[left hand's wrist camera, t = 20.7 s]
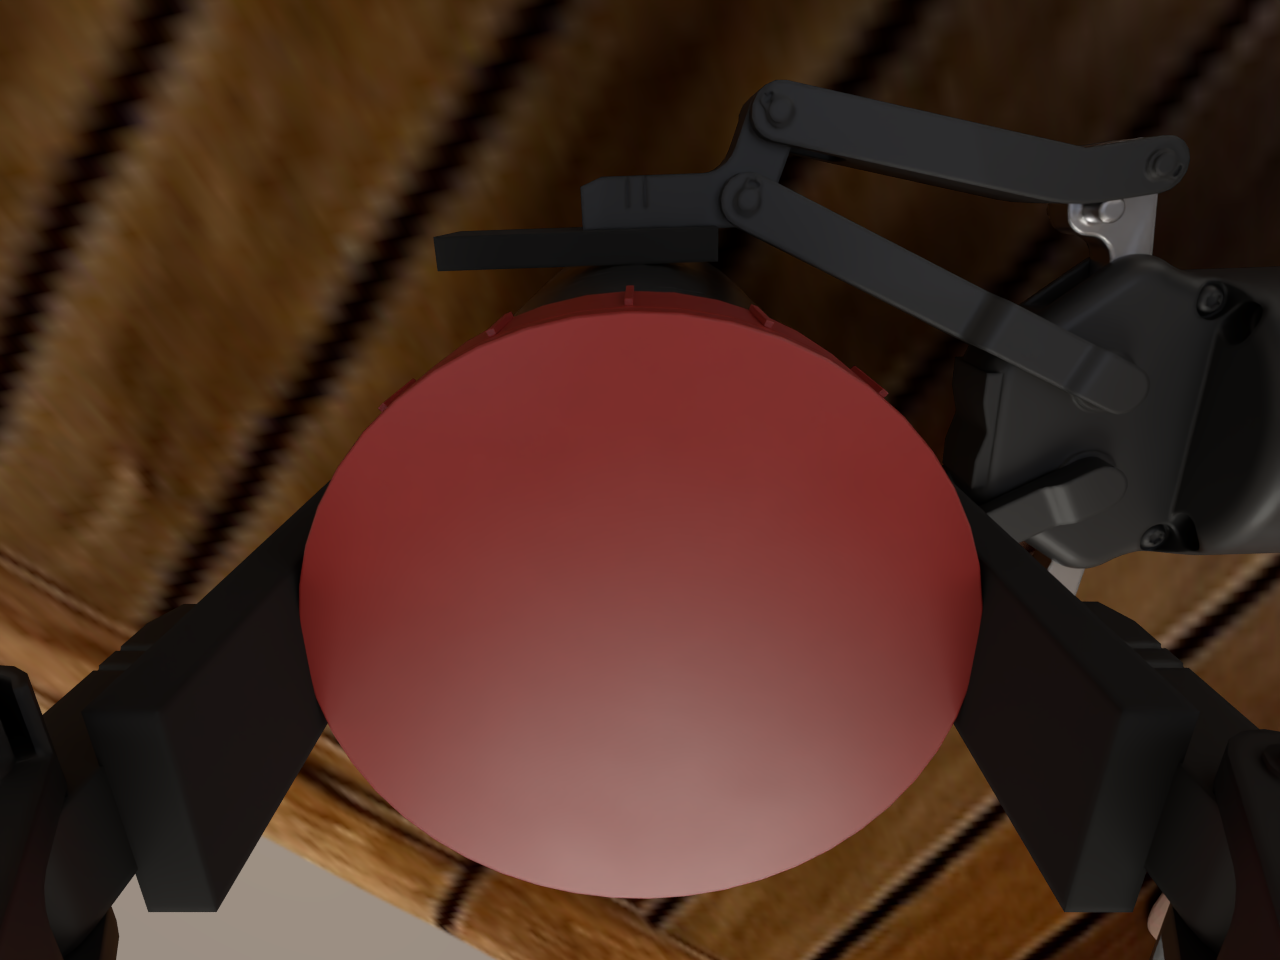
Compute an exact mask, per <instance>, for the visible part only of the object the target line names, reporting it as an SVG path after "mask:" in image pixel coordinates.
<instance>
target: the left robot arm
mask: <svg viewBox="0 0 1280 960" xmlns="http://www.w3.org/2000/svg"><path fill="white" fill-rule="evenodd" d="M330 481H331V480H330ZM330 481H329V482H328V483H327V484H326V485H325V486H324V487H322V488H321V489H320V490H319V491H318V492H317V493H316V494H315V495H314V496H313V497H312V498H311V499H310V500H308V501H307V502H306V503H305V504H304V505H303V506H302V507H301V508H300V509H299V510H298V511H297V512H296V513H294V514H293V515H292V516H291V517H290V518H289V519H288V520H287V521H286V522H285V523H284V524H283V525H281V526H280V527H279V528H278V529H277V530H276V531H275V532H274V533H273V534H272V535H271V536H270V537H269V538H267V539H266V540H265V541H264V542H263V543H262V544H261V545H260V546H259V547H258V548H257V549H256V550H255V551H253V552H252V553H251V554H250V555H249V556H248V557H247V558H246V559H245V560H244V561H243V562H242V563H241V564H239V565H238V566H237V567H236V568H235V569H234V570H233V571H232V572H231V573H230V574H229V575H228V576H227V577H225V578H224V579H223V580H222V581H221V582H220V583H219V584H218V585H217V586H216V587H215V588H214V589H213V590H211V591H210V592H209V593H208V594H207V595H206V596H205V597H204V598H203V599H202V600H201V601H200V602H198V603H197V604H183V605H181V606H179V607H177V608H175V609H174V610H172V611H170V612H168V613H166V614H164V615H162V616H160V617H159V618H157V619H155V620H153V621H151V622H149V623H147V624H146V625H145V626H144V627H143V628H142V629H140V630H139V631H138V632H137V633H136V634H135V635H134V636H132V637H131V638H130V639H129V640H128V641H127V642H126V643H124V644H123V645H122V646H121V651H115V652H114V653H113V654H112V655H111V656H109V657H108V658H107V659H106V660H105V661H104V662H103V663H101V664H100V665H99V670H98V671H92V672H91V673H90V674H89V675H88V676H87V677H85V678H84V679H83V680H82V681H81V682H80V683H79V684H77V685H76V686H75V687H74V688H73V689H72V690H71V691H69V692H68V693H67V694H66V695H65V696H64V697H63V698H61V699H60V700H59V701H58V702H57V703H56V704H55V705H53V706H52V707H51V708H50V709H49V710H48V711H47V712H45V713H44V714H43V715H42V713H41V710H40V707H39V705H38V702H37V699H36V696H35V693H34V691H33V688H32V685H31V682H30V680H29V677H28V674H27V673H25V672H24V671H22V670H20V669H18V668H16V667H15V666H2V665H0V960H116V956H117V948H118V941H119V933H118V927H117V921H116V918H115V915H114V912H113V909H112V907H111V906H112V904H113V903H114V902H115V900H116V899H117V898H118V896H119V895H120V894H121V892H122V891H123V889H124V888H125V887H126V885H127V884H128V883H129V881H130V880H131V879H132V877H133V876H134V875H135V874H136V876H137V880H138V883H139V885H140V888H141V891H142V894H143V897H144V900H145V903H146V906H147V909H148V912H217V910H218V909H219V907H220V905H221V903H222V902H223V900H224V898H225V897H226V895H227V893H228V892H229V890H230V888H231V886H232V885H233V883H234V881H235V880H236V878H237V876H238V874H239V873H240V871H241V869H242V868H243V866H244V864H245V863H246V861H247V859H248V858H249V856H250V854H251V852H252V851H253V849H254V847H255V846H256V844H257V842H258V841H259V839H260V837H261V835H262V834H263V832H264V830H265V829H266V827H267V825H268V824H269V822H270V820H271V819H272V817H273V815H274V813H275V812H276V810H277V808H278V807H279V805H280V803H281V802H282V800H283V798H284V796H285V795H286V793H287V791H288V790H289V788H290V786H291V785H292V783H293V781H294V779H295V778H296V776H297V774H298V773H299V771H300V769H301V768H302V766H303V764H304V762H305V761H306V759H307V757H308V756H309V754H310V752H311V751H312V749H313V747H314V745H315V744H316V742H317V740H318V739H319V737H320V735H321V734H322V732H323V730H324V728H325V727H326V725H327V723H328V722H327V720H326V718H325V716H324V714H323V712H322V710H321V707H320V705H319V703H318V701H317V699H316V696H315V693H314V688H313V684H312V679H311V674H310V669H309V664H308V659H307V654H306V649H305V643H304V638H303V633H302V628H301V622H300V616H299V582H300V576H301V570H302V563H303V557H304V550H305V544H306V541H307V538H308V535H309V532H310V529H311V526H312V523H313V520H314V517H315V514H316V510H317V507H318V505H319V503H320V501H321V499H322V497H323V495H324V493H325V491H326V489H327V487H328V485H329V483H330ZM950 481H951V480H950ZM951 482H952V481H951ZM952 484H953V486H954V487H955V489H956V492H957V494H958V497H959V499H960V502H961V504H962V506H963V509H964V511H965V514H966V516H967V519H968V521H969V524H970V526H971V530H972V534H973V539H974V543H975V547H976V552H977V556H978V560H979V565H980V575H981V589H982V603H983V610H982V616H981V622H980V628H979V634H978V639H977V644H976V649H975V654H974V659H973V665H972V670H971V675H970V680H969V685H968V689H967V693H966V695H965V698H964V700H963V703H962V705H961V708H960V710H959V713H958V716H957V718H956V720H955V721H954V723H953V724H954V725H955V727H956V729H957V731H958V732H959V734H960V736H961V737H962V739H963V741H964V742H965V744H966V746H967V748H968V749H969V751H970V753H971V754H972V756H973V758H974V759H975V761H976V763H977V764H978V766H979V768H980V770H981V771H982V773H983V775H984V776H985V778H986V780H987V781H988V783H989V785H990V787H991V788H992V790H993V792H994V793H995V795H996V797H997V798H998V800H999V802H1000V804H1001V805H1002V807H1003V809H1004V810H1005V812H1006V814H1007V815H1008V817H1009V819H1010V821H1011V822H1012V824H1013V826H1014V827H1015V829H1016V831H1017V832H1018V834H1019V836H1020V838H1021V839H1022V841H1023V843H1024V844H1025V846H1026V848H1027V849H1028V851H1029V853H1030V854H1031V856H1032V858H1033V860H1034V861H1035V863H1036V865H1037V866H1038V868H1039V870H1040V871H1041V873H1042V875H1043V877H1044V878H1045V880H1046V882H1047V883H1048V885H1049V887H1050V888H1051V890H1052V892H1053V894H1054V895H1055V897H1056V899H1057V900H1058V902H1059V904H1060V905H1061V907H1062V909H1063V911H1064V912H1133V909H1134V906H1135V903H1136V900H1137V897H1138V894H1139V891H1140V888H1141V886H1142V883H1143V880H1144V877H1145V874H1146V871H1147V872H1148V873H1149V875H1150V876H1151V878H1152V879H1153V880H1154V882H1155V883H1156V884H1157V886H1158V887H1159V888H1160V890H1161V891H1162V892H1163V894H1164V895H1165V896H1166V898H1167V899H1168V900H1169V902H1170V904H1169V907H1168V909H1167V912H1166V915H1165V918H1164V921H1163V923H1162V926H1161V929H1160V932H1159V934H1158V937H1157V940H1156V943H1155V945H1154V948H1153V951H1152V954H1151V956H1150V959H1149V960H1280V732H1278V731H1272V730H1266V729H1258V728H1257V727H1256V726H1255V725H1254V724H1253V723H1251V722H1250V721H1249V720H1248V719H1247V718H1246V717H1245V716H1243V715H1242V714H1241V713H1240V712H1239V711H1238V710H1237V709H1235V708H1234V707H1233V706H1232V705H1231V704H1230V703H1228V702H1227V701H1226V700H1225V699H1224V698H1223V697H1222V696H1220V695H1219V694H1218V693H1217V692H1216V691H1215V690H1213V689H1212V688H1211V687H1210V686H1209V685H1208V684H1207V683H1205V682H1204V681H1203V680H1202V679H1201V678H1200V677H1198V676H1197V675H1196V674H1195V673H1194V672H1193V671H1192V670H1190V669H1189V668H1184V667H1183V663H1182V662H1181V661H1180V660H1179V659H1178V658H1177V657H1175V656H1174V655H1173V654H1172V653H1171V652H1170V651H1168V650H1167V649H1166V648H1161V644H1160V643H1159V642H1158V641H1157V640H1156V639H1155V638H1153V637H1152V636H1151V635H1150V634H1149V633H1148V632H1147V631H1145V630H1144V629H1143V628H1142V627H1141V626H1140V625H1138V624H1137V623H1136V622H1135V621H1133V620H1132V619H1130V618H1128V617H1126V616H1124V615H1122V614H1120V613H1118V612H1116V611H1115V610H1113V609H1111V608H1109V607H1107V606H1105V605H1103V604H1101V603H1099V602H1081V601H1080V600H1079V599H1078V598H1077V597H1076V596H1075V595H1074V594H1073V593H1072V592H1071V591H1069V590H1068V589H1067V588H1066V587H1065V586H1064V585H1063V584H1062V583H1061V582H1060V581H1059V580H1058V579H1057V578H1055V577H1054V576H1053V575H1052V574H1051V573H1050V572H1049V571H1048V570H1047V569H1046V568H1045V567H1044V566H1043V565H1041V564H1040V563H1039V562H1038V561H1037V560H1036V559H1035V558H1034V557H1033V556H1032V555H1031V554H1030V553H1028V552H1027V551H1026V550H1025V549H1024V548H1023V547H1022V546H1021V545H1020V544H1019V543H1018V542H1017V541H1016V540H1014V539H1013V538H1012V537H1011V536H1010V535H1009V534H1008V533H1007V532H1006V531H1005V530H1004V529H1003V528H1002V527H1000V526H999V525H998V524H997V523H996V522H995V521H994V520H993V519H992V518H991V517H990V516H989V515H988V514H986V513H985V512H984V511H983V510H982V509H981V508H980V507H979V506H978V505H977V504H976V503H975V502H973V501H972V500H971V499H970V498H969V497H968V496H967V495H966V494H965V493H964V492H963V491H962V490H961V489H959V488H958V487H957V486H956V485H955V484H954V483H953V482H952Z"/></svg>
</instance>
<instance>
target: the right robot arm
mask: <svg viewBox="0 0 1280 960" xmlns="http://www.w3.org/2000/svg"><path fill="white" fill-rule="evenodd" d="M789 154H791V155H796V156H801V157H805V158H810V159H814V160H819V161H823V162H828V163H832V164H837V165H842V166H846V167H851V168H855V169H860V170H864V171H869V172H874V173H878V174H883V175H887V176H892V177H896V178H901V179H905V180H910V181H915V182H919V183H924V184H928V185H933V186H937V187H942V188H947V189H951V190H956V191H960V192H965V193H969V194H974V195H979V196H983V197H988V198H992V199H997V200H1003V201H1010V202H1024V203H1048V206H1047V215H1048V216H1049V219H1050V222H1051V224H1052V226H1053V227H1054V228H1055V229H1056V230H1057V231H1059V232H1061V233H1066V234H1074V235H1077V236H1079V237H1081V238H1083V239H1084V241H1085V242H1086V243H1087V245H1088V247H1089V253H1090V257H1089V258H1087V259H1085V260H1083V261H1082V262H1080V263H1079V264H1077V265H1076V266H1074V267H1073V268H1072V269H1070V270H1069V271H1067V272H1066V273H1064V274H1063V275H1061V276H1060V277H1059V278H1057V279H1056V280H1054V281H1053V282H1051V283H1050V284H1048V285H1047V286H1046V287H1044V288H1043V289H1041V290H1040V291H1038V292H1037V293H1035V294H1034V295H1032V296H1031V297H1030V298H1028V299H1027V300H1025V301H1024V302H1022V303H1021V304H1019V305H1017V304H1015V303H1013V302H1011V301H1008V300H1006V299H1004V298H1001V297H999V296H997V295H994V294H992V293H990V292H988V291H986V290H984V289H982V288H980V287H978V286H976V285H974V284H972V283H970V282H968V281H966V280H964V279H962V278H960V277H958V276H957V275H955V274H953V273H951V272H949V271H947V270H945V269H943V268H941V267H939V266H937V265H935V264H933V263H931V262H929V261H927V260H926V259H924V258H922V257H920V256H918V255H916V254H914V253H912V252H910V251H908V250H906V249H904V248H902V247H900V246H898V245H897V244H895V243H893V242H891V241H889V240H887V239H885V238H883V237H881V236H879V235H877V234H875V233H873V232H871V231H869V230H868V229H866V228H864V227H862V226H860V225H858V224H856V223H854V222H852V221H850V220H848V219H846V218H844V217H842V216H840V215H838V214H837V213H835V212H833V211H831V210H829V209H827V208H825V207H823V206H821V205H819V204H817V203H815V202H813V201H811V200H809V199H808V198H806V197H804V196H802V195H800V194H798V193H796V192H794V191H792V190H790V189H788V188H786V187H784V186H782V185H780V184H778V182H779V179H780V177H781V174H782V171H783V168H784V166H785V163H786V160H787V157H788V155H789ZM1189 162H1190V155H1189V148H1188V147H1187V145H1186V143H1185V142H1184V140H1182V139H1180V138H1179V137H1177V136H1171V135H1162V136H1153V137H1144V138H1135V139H1126V140H1117V141H1108V142H1100V143H1094V144H1087V145H1081V146H1076V145H1072V144H1067V143H1063V142H1058V141H1054V140H1050V139H1045V138H1041V137H1036V136H1032V135H1028V134H1023V133H1019V132H1014V131H1010V130H1005V129H1001V128H997V127H992V126H988V125H983V124H979V123H975V122H970V121H966V120H961V119H957V118H952V117H948V116H944V115H939V114H935V113H930V112H926V111H922V110H917V109H913V108H908V107H904V106H899V105H895V104H891V103H886V102H882V101H877V100H873V99H869V98H864V97H860V96H855V95H851V94H846V93H842V92H838V91H833V90H829V89H824V88H820V87H816V86H811V85H807V84H802V83H798V82H793V81H789V80H775V81H773V82H770V83H768V84H766V85H765V86H763V87H762V88H761V89H760V90H759V91H758V92H756V93H755V94H754V95H753V96H752V97H751V98H750V99H749V100H748V101H747V102H746V103H745V104H744V105H743V107H742V109H741V111H740V114H739V122H738V124H737V127H736V130H735V133H734V136H733V139H732V142H731V145H730V148H729V151H728V153H727V155H726V157H725V159H724V160H723V161H722V163H721V164H720V165H719V166H718V167H716V168H715V169H714V170H712V171H710V172H707V173H696V174H668V175H640V176H612V177H600V178H598V179H596V180H594V181H592V182H590V183H588V184H586V185H584V186H582V187H580V188H581V205H582V222H583V227H572V228H544V229H515V230H487V231H460V232H455V233H451V234H446V235H441V236H437V237H433V238H434V246H435V253H436V261H437V269H438V271H457V270H486V269H515V268H544V267H573V266H602V265H631V264H660V263H689V262H718V228H729V227H736V228H738V229H740V230H742V231H744V232H746V233H748V234H750V235H752V236H754V237H756V238H758V239H760V240H762V241H764V242H766V243H768V244H770V245H772V246H774V247H776V248H778V249H780V250H782V251H784V252H786V253H788V254H790V255H792V256H794V257H796V258H798V259H800V260H802V261H803V262H805V263H807V264H809V265H811V266H813V267H815V268H817V269H819V270H821V271H823V272H825V273H827V274H829V275H831V276H833V277H835V278H837V279H839V280H841V281H843V282H845V283H847V284H849V285H851V286H853V287H855V288H857V289H859V290H861V291H863V292H865V293H867V294H869V295H871V296H873V297H875V298H877V299H879V300H881V301H883V302H885V303H887V304H889V305H891V306H893V307H895V308H897V309H899V310H901V311H903V312H905V313H907V314H909V315H911V316H913V317H915V318H917V319H919V320H921V321H923V322H925V323H927V324H929V325H931V326H933V327H935V328H937V329H939V330H941V331H943V332H945V333H947V334H949V335H951V336H953V337H955V338H957V339H958V340H960V341H962V342H964V343H966V344H968V345H969V347H968V349H967V350H966V352H965V355H964V357H955V364H954V372H953V380H952V387H953V393H954V400H955V406H956V413H955V415H954V418H953V420H952V423H951V425H950V428H949V430H948V433H947V435H946V438H945V446H944V454H943V462H942V463H943V464H944V465H942V467H943V469H944V471H945V472H946V474H947V476H948V477H949V479H950V480H951V481H952V482H953V483H954V484H955V485H956V486H957V487H958V488H959V489H961V490H962V491H963V492H964V493H965V494H966V495H967V496H968V497H969V498H970V499H971V500H972V501H973V502H975V503H976V504H977V505H978V506H979V507H980V508H981V509H982V510H983V511H984V512H985V513H986V514H988V515H989V516H990V517H991V518H992V519H993V520H994V521H995V522H996V523H997V524H998V525H999V526H1000V527H1002V528H1003V529H1004V530H1005V531H1006V532H1007V533H1008V534H1009V535H1010V536H1011V537H1012V538H1013V539H1014V540H1016V541H1017V542H1018V543H1020V542H1022V541H1025V542H1027V543H1028V544H1029V545H1031V546H1032V547H1034V548H1035V549H1036V550H1035V552H1034V554H1033V555H1032V556H1033V557H1034V558H1035V559H1036V560H1037V561H1038V562H1039V563H1040V564H1041V565H1043V566H1044V567H1045V568H1046V569H1047V570H1048V571H1049V572H1050V573H1051V574H1052V575H1053V576H1054V577H1055V578H1057V579H1058V580H1059V581H1060V582H1061V583H1062V584H1063V585H1064V586H1065V587H1066V588H1067V589H1068V590H1069V591H1071V592H1072V593H1073V594H1074V595H1076V593H1077V590H1078V587H1079V584H1080V581H1081V578H1082V575H1083V572H1084V569H1085V568H1091V567H1095V566H1098V565H1101V564H1103V563H1105V562H1107V561H1109V560H1111V559H1113V558H1116V557H1118V556H1121V555H1124V554H1127V553H1131V552H1135V551H1155V552H1165V553H1175V554H1188V555H1218V554H1252V553H1280V266H1277V267H1248V268H1219V269H1191V270H1180V269H1178V268H1176V267H1174V266H1172V265H1170V264H1169V263H1168V262H1166V261H1165V260H1163V259H1161V258H1159V257H1156V256H1153V255H1152V251H1153V240H1154V229H1155V219H1156V208H1157V197H1158V193H1161V192H1164V191H1167V190H1170V189H1171V188H1173V187H1174V186H1175V185H1176V184H1178V183H1179V182H1180V181H1181V179H1182V178H1183V176H1184V175H1185V173H1186V172H1187V169H1188V165H1189Z"/></svg>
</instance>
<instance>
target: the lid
mask: <svg viewBox="0 0 1280 960" xmlns="http://www.w3.org/2000/svg"><path fill="white" fill-rule="evenodd" d="M887 394H888V392H887V391H886V390H884V389H883V388H882V387H881V386H880V385H878V384H877V383H876V382H875V381H873V380H872V379H871V378H870V377H868V376H867V375H866V374H865V373H863V372H862V371H861V370H860V369H858V368H857V367H856V366H855V365H854V366H853V367H852V368H851V369H849V368H848V367H847V366H846V365H844V364H843V363H842V362H841V361H840V360H838V359H837V358H836V357H835V356H834V355H833V354H831V353H830V352H828V351H827V350H825V349H824V348H822V347H821V346H819V345H818V344H816V343H815V342H813V341H812V340H810V339H808V338H807V337H805V336H804V335H802V334H801V333H799V332H798V331H796V330H794V329H792V328H790V327H788V326H785V325H783V324H781V323H779V322H777V321H775V320H773V319H771V318H769V317H768V316H767V315H766V314H765V313H764V312H763V311H762V310H761V309H760V308H759V307H758V306H755V305H752V304H751V305H750V308H749V310H748V309H745V308H742V307H739V306H735V305H732V304H729V303H726V302H723V301H720V300H715V299H710V298H704V297H698V296H692V295H686V294H681V293H675V292H649V291H634V285H627V286H626V291H624V292H613V293H603V294H593V295H585V296H581V297H577V298H572V299H568V300H564V301H560V302H556V303H551V304H547V305H543V306H541V307H538V308H536V309H533V310H530V311H528V312H525V313H523V314H520V315H517V316H515V317H514V316H513V314H512V312H508V313H506V314H504V315H503V316H502V317H501V318H500V319H499V320H498V321H497V322H495V323H494V324H493V325H492V326H491V327H490V328H489V329H488V330H486V331H485V332H483V333H481V334H479V335H477V336H476V337H474V338H472V339H470V340H468V341H467V342H465V343H464V344H463V345H462V346H460V347H459V348H458V349H456V350H455V351H454V352H452V353H451V354H450V355H448V356H447V357H446V358H444V359H443V360H442V361H440V362H439V363H438V364H436V365H435V366H434V367H433V368H432V369H430V370H429V371H428V372H427V373H426V374H424V375H423V376H422V377H421V378H420V379H418V380H417V381H416V380H415V379H412V380H411V381H409V382H408V383H407V384H406V385H404V386H403V387H402V388H401V389H400V390H398V391H397V392H396V393H395V394H393V395H392V396H391V397H390V398H388V399H387V400H386V401H385V402H384V403H382V404H381V406H380V407H379V408H378V409H379V410H380V411H381V412H382V413H381V414H380V415H379V416H378V417H377V418H376V419H375V420H374V421H373V422H372V423H371V424H370V425H369V426H368V427H367V428H366V429H365V430H364V431H363V433H362V434H361V435H360V437H359V438H358V440H357V441H356V442H355V444H354V445H353V447H352V448H351V449H350V451H349V452H348V454H347V455H346V456H345V458H344V459H343V460H342V462H341V463H340V465H339V466H338V467H337V469H336V471H335V473H334V475H333V477H332V479H331V481H330V483H329V485H328V487H327V489H326V491H325V493H324V495H323V497H322V499H321V501H320V503H319V505H318V507H317V510H316V514H315V517H314V520H313V523H312V526H311V529H310V532H309V535H308V538H307V541H306V544H305V550H304V557H303V563H302V570H301V576H300V582H299V616H300V622H301V628H302V633H303V638H304V643H305V649H306V654H307V659H308V664H309V669H310V674H311V679H312V684H313V688H314V693H315V696H316V699H317V701H318V703H319V705H320V707H321V710H322V712H323V714H324V716H325V718H326V720H327V722H328V724H329V727H330V729H331V731H332V733H333V734H334V736H335V737H336V739H337V740H338V742H339V743H340V745H341V747H342V748H343V750H344V751H345V753H346V754H347V756H348V757H349V759H350V760H351V762H352V763H353V765H354V766H355V767H356V768H357V769H358V770H359V772H360V773H361V774H362V775H363V776H364V778H365V779H366V780H367V781H368V782H369V783H370V785H371V786H372V787H373V788H374V789H375V790H376V792H377V793H378V794H380V795H381V796H382V797H383V798H384V799H385V800H386V801H387V802H388V803H389V804H390V805H391V806H393V807H394V808H395V809H396V810H397V811H398V812H399V813H400V814H401V815H402V816H403V817H405V818H406V819H407V820H409V821H410V822H411V823H413V824H414V825H415V826H417V827H418V828H420V829H421V830H422V831H424V832H425V833H426V834H428V835H429V836H431V837H432V838H433V839H435V840H436V841H438V842H440V843H442V844H443V845H445V846H447V847H449V848H450V849H452V850H454V851H456V852H457V853H459V854H461V855H463V856H464V857H466V858H468V859H470V860H473V861H475V862H477V863H479V864H482V865H484V866H486V867H488V868H491V869H493V870H495V871H497V872H500V873H502V874H505V875H508V876H511V877H515V878H518V879H521V880H524V881H527V882H530V883H533V884H536V885H540V886H545V887H549V888H554V889H558V890H563V891H567V892H572V893H578V894H586V895H594V896H603V897H611V898H647V899H650V898H664V897H679V896H690V895H696V894H702V893H708V892H714V891H720V890H725V889H729V888H733V887H736V886H740V885H744V884H748V883H751V882H755V881H759V880H762V879H765V878H767V877H770V876H773V875H775V874H778V873H780V872H783V871H786V870H788V869H791V868H794V867H796V866H798V865H800V864H802V863H804V862H806V861H808V860H810V859H812V858H814V857H816V856H818V855H820V854H822V853H824V852H826V851H828V850H830V849H832V848H833V847H835V846H836V845H838V844H839V843H841V842H843V841H844V840H846V839H847V838H849V837H850V836H852V835H853V834H855V833H857V832H858V831H860V830H861V829H862V828H864V827H865V826H866V825H867V824H869V823H870V822H871V821H872V820H873V819H875V818H876V817H877V816H878V815H880V814H881V813H882V812H883V811H885V810H886V809H887V808H888V807H889V806H891V805H892V804H893V802H894V801H895V800H896V799H897V798H898V797H899V796H900V795H901V794H902V793H903V792H904V791H905V790H906V789H907V788H908V787H909V786H910V785H911V784H912V783H913V782H914V781H915V780H916V779H917V777H918V776H919V775H920V773H921V772H922V771H923V769H924V768H925V767H926V765H927V764H928V763H929V761H930V760H931V759H932V757H933V756H934V755H935V753H936V752H937V751H938V749H939V748H940V746H941V744H942V742H943V741H944V739H945V737H946V735H947V734H948V732H949V730H950V728H951V727H952V725H953V723H954V721H955V720H956V718H957V716H958V713H959V710H960V708H961V705H962V703H963V700H964V698H965V695H966V693H967V689H968V685H969V680H970V675H971V670H972V665H973V659H974V654H975V649H976V644H977V639H978V634H979V628H980V622H981V616H982V610H983V603H982V589H981V575H980V565H979V560H978V556H977V552H976V547H975V543H974V539H973V534H972V530H971V526H970V524H969V521H968V519H967V516H966V514H965V511H964V509H963V506H962V504H961V502H960V499H959V497H958V494H957V492H956V489H955V487H954V486H953V484H952V482H951V481H950V479H949V477H948V476H947V474H946V472H945V471H944V469H943V467H942V466H941V464H940V462H939V461H938V459H937V457H936V456H935V454H934V452H933V451H932V449H931V448H930V447H929V446H928V445H927V443H926V442H925V441H924V440H923V439H922V437H921V436H920V435H919V434H918V433H917V431H916V430H915V429H914V428H913V427H912V425H911V424H910V423H909V422H908V421H907V419H906V418H905V417H904V416H903V415H902V414H901V413H900V412H899V411H897V410H896V409H895V408H894V407H893V406H892V405H891V404H890V403H888V402H887V401H886V400H885V399H884V397H885V396H886V395H887Z"/></svg>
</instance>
